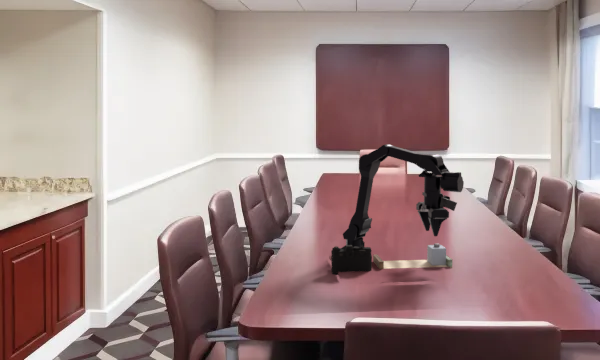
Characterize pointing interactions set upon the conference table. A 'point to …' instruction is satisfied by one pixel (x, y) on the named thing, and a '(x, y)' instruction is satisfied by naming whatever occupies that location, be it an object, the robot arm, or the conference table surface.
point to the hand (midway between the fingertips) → (431, 233)
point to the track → (407, 263)
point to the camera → (350, 259)
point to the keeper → (436, 254)
